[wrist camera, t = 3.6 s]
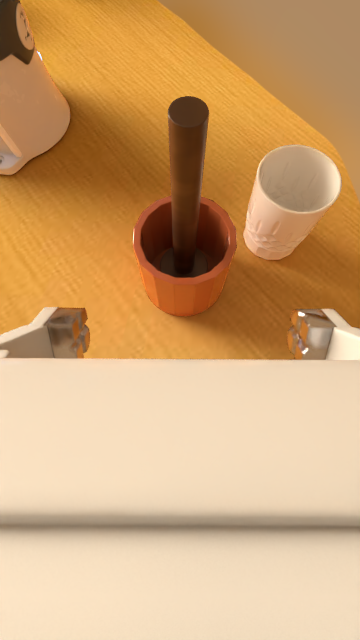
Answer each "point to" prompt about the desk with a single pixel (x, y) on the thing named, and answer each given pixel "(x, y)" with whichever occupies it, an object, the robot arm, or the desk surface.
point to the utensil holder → (211, 240)
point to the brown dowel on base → (186, 185)
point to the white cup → (289, 199)
